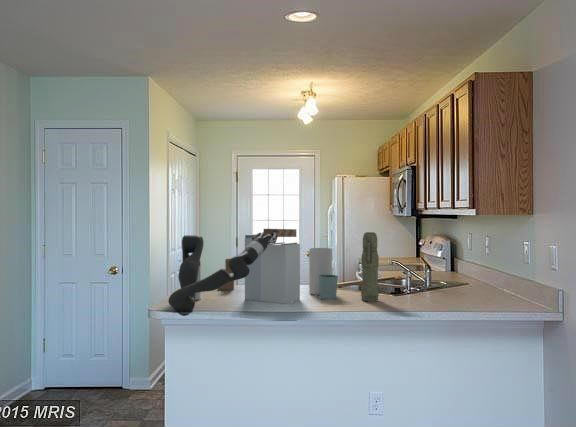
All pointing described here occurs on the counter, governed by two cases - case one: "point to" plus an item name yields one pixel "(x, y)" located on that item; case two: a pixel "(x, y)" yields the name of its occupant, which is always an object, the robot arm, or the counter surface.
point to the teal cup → (328, 286)
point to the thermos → (369, 267)
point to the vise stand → (274, 273)
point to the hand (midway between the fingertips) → (272, 230)
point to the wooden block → (231, 284)
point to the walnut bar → (282, 232)
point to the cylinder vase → (318, 267)
